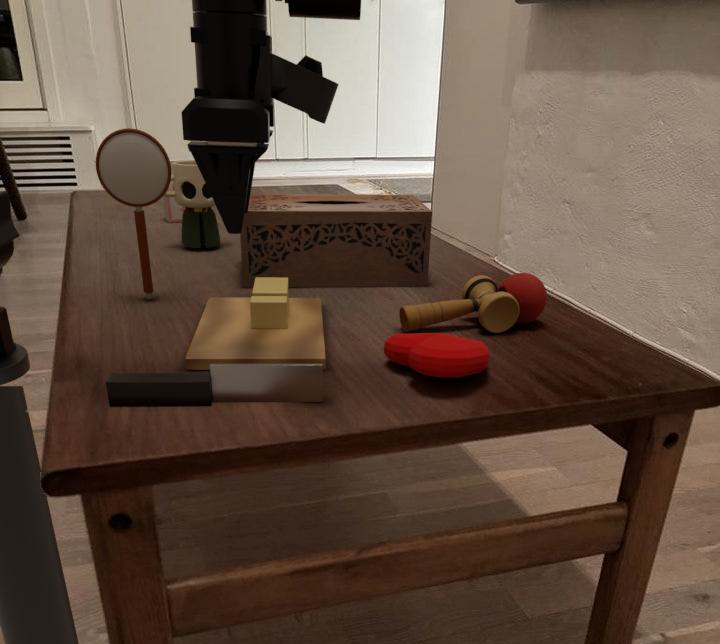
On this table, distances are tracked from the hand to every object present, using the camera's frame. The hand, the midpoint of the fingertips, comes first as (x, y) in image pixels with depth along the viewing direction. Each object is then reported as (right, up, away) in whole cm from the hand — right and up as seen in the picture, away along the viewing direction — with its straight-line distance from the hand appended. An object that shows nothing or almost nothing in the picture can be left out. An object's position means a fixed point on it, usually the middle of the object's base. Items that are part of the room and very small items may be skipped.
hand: (238, 222), depth 65 cm
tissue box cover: (+7, +8, +44) cm, 45 cm away
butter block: (0, -2, +23) cm, 23 cm away
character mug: (-16, +16, +57) cm, 61 cm away
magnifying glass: (-16, 0, +30) cm, 34 cm away
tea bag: (-23, +27, +77) cm, 85 cm away
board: (0, -6, +19) cm, 20 cm away
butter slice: (+1, -5, +18) cm, 19 cm away
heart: (+19, -12, +10) cm, 25 cm away
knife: (-2, -16, +2) cm, 16 cm away
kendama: (+24, -5, +23) cm, 34 cm away
